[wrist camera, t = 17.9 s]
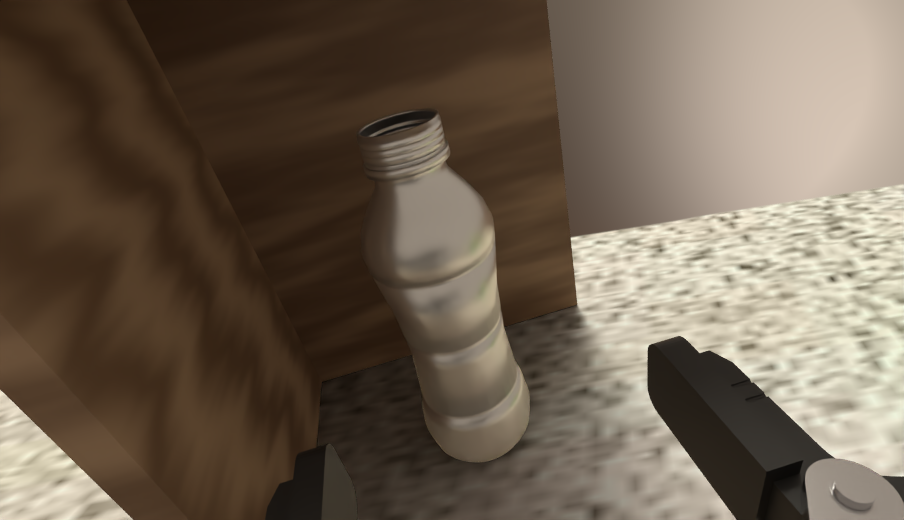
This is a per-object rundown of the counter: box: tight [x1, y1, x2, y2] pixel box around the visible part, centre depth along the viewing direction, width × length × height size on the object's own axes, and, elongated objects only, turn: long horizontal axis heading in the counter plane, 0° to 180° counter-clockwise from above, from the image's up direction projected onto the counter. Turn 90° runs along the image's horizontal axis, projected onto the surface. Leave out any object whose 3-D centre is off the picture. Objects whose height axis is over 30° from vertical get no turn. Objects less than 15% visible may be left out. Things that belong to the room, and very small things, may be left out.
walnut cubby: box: [0, 0, 577, 520], centre depth 23 cm, size 19×23×29 cm
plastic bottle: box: [356, 108, 530, 462], centre depth 25 cm, size 6×7×20 cm
